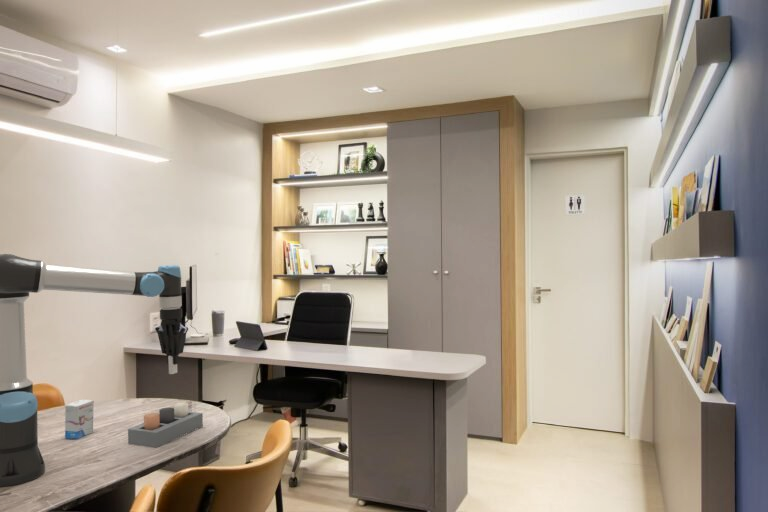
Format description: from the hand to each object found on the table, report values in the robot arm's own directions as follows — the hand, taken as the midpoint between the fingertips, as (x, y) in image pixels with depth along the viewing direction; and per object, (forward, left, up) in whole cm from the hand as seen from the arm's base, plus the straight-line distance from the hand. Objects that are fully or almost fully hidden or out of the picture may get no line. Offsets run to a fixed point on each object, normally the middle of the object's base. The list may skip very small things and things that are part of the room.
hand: (173, 373), depth 204 cm
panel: (-3, 0, -21) cm, 22 cm away
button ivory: (+5, 0, -18) cm, 19 cm away
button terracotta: (-10, 0, -18) cm, 21 cm away
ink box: (-14, +30, -22) cm, 39 cm away
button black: (-3, 0, -18) cm, 19 cm away
